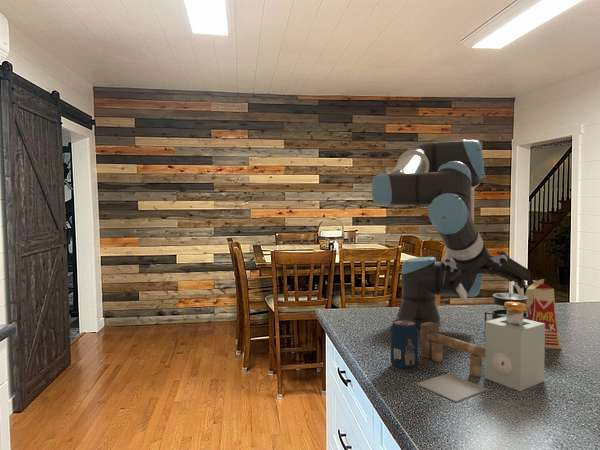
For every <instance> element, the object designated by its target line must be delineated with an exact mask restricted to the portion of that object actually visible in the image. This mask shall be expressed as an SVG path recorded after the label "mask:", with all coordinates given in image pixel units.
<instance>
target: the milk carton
mask: <svg viewBox="0 0 600 450" xmlns="http://www.w3.org/2000/svg"><path fill="white" fill-rule="evenodd" d="M532 282H533V283H532V284H530V285H529V286H530V287H529V288H527V290H526V295H525V296H527V297H528V300H526V301H525V303H524V304H526V311H523V312H524V313H526V314H528V320H532V321H536V322H540V323H545V349H557V350H558V349H560V350H561V349H563V348H562V344H561V338H560V333H559V327H558V319H557V311H556V301H555V289H554V288H553V287H551V286H549V285H548V284H545V283H544V282H545V279H543V278H541V279H539V280H533V279H532Z"/></svg>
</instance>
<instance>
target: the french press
mask: <svg viewBox="0 0 600 450" xmlns="http://www.w3.org/2000/svg"><path fill="white" fill-rule="evenodd" d="M507 280H508V282H509V290H508V291H509V292H497V293H493V294H492V297H493V301H494V302H493V303H494V304H495V305H497V306H501V307H504V303H505V302H520V303H525V301H526V300H528V297H527V296H525V295H524V298H520V295H519V294H514V293H513V292H512V290H511V289H512V281H511V280H509V279H507ZM487 314H488V315H491V316H492V317H491V320H493V319H497V318H501V317H505V315H507V310H506V309H495V310H492V311H487V310H486V311H485V312H484V323H485V322H486V321H488V320H487V317H488V315H487ZM503 315H504V316H503ZM523 319H527V320H528V314H526V313H524V312H523ZM483 341H484V342H485V337H484V340H483Z"/></svg>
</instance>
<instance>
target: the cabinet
mask: <svg viewBox="0 0 600 450" xmlns="http://www.w3.org/2000/svg"><path fill="white" fill-rule="evenodd" d="M484 338H485V341H484V348H485V358H484V379H487V380H489V381H492V382H494V383H497V384H500V385H503V386H504V387H507V388H510V389H512V390H515V391H518V392H522V391H525V390H526V389H528V388H532V387H534V386H537V385H539V384H540V383H543V382H545V355H546V354H545V353H546V352H545V349H546V348H545V323H540V322H536V321H532V320H527V319H523V326H520V327H518V326H514V325H510V324H507V315H506V316H505V315H504V317H501V318H497V319H493V320H492V319H489V320H487V321H486V322H485V321H484Z"/></svg>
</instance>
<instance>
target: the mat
mask: <svg viewBox="0 0 600 450" xmlns="http://www.w3.org/2000/svg"><path fill="white" fill-rule="evenodd" d="M416 384H417V386H420V387H421V388H424V389H426V390H428V391H431V392H433V393H435V394H438V395H440V396H442V397H443V398H445V399H448V400H450V401H453V402H454V403H458V402H461V401H464V400H466V399H469V398H471V397H473V396H476V395H478V394H481V393H484V392H486V391H488V388H486V387H483V386H482V385H479V384H476V383H474V382H472V381H470V380H469V381H468V380H467V379H464V378H460V377H458V376H456V375H453V374H451V373H449V372H447V373H444V374H442V375H439V376H436V377H432V378H429V379H426V380H422V381H419V382H417V383H416Z"/></svg>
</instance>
